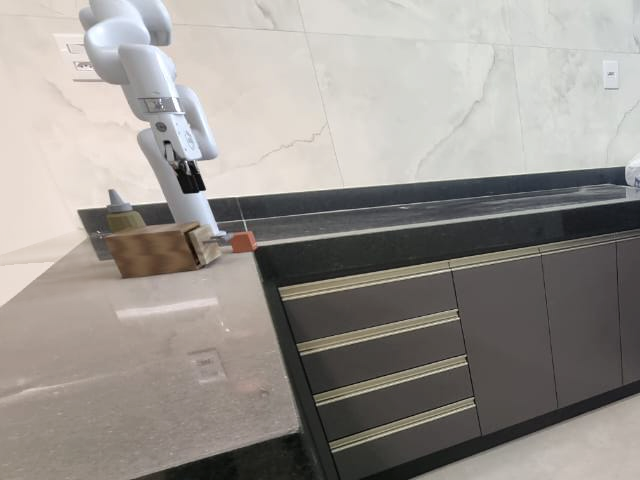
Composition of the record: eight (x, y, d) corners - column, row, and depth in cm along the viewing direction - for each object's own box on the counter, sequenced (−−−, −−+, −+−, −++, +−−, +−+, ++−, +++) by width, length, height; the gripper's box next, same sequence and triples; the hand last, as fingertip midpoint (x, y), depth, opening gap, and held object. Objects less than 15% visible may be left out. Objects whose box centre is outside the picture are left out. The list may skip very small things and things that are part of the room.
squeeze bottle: (139, 264, 136) (106, 191, 128) (115, 263, 137) (80, 192, 130) (170, 256, 143) (140, 186, 135) (146, 255, 144) (115, 187, 137)
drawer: (243, 251, 140) (232, 222, 136) (230, 261, 130) (218, 229, 127) (159, 261, 134) (145, 230, 131) (139, 272, 124) (124, 239, 121)
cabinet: (214, 258, 138) (199, 221, 134) (197, 269, 128) (180, 230, 124) (146, 265, 134) (128, 227, 130) (122, 278, 123) (102, 237, 119)
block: (238, 249, 147) (232, 232, 145) (257, 247, 148) (252, 230, 146) (234, 252, 143) (227, 235, 141) (253, 250, 145) (247, 233, 143)
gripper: (167, 106, 113) (201, 195, 121) (195, 107, 127) (224, 187, 135) (124, 108, 111) (162, 198, 118) (157, 109, 125) (189, 189, 133)
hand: (194, 191), depth 127 cm, fingers open, 3 cm apart
